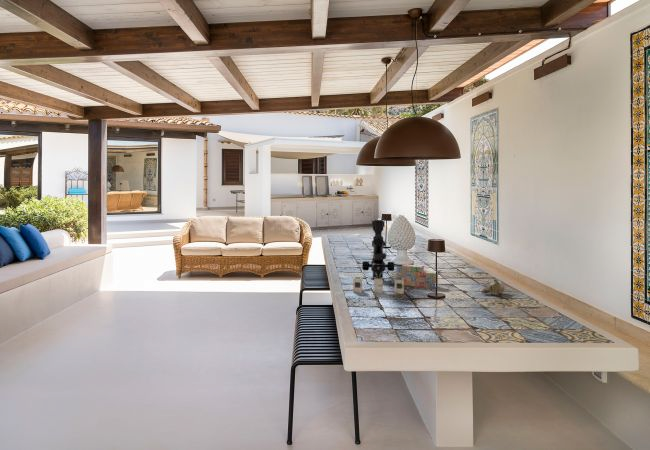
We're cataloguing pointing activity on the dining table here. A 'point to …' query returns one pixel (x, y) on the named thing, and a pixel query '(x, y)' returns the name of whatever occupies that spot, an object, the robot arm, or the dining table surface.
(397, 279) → the marked block 2
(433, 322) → the dining table surface
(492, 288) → the ceramic sculpture
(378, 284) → the plain block
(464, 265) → the dining table surface
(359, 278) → the marked block 1
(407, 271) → the stack of blocks
